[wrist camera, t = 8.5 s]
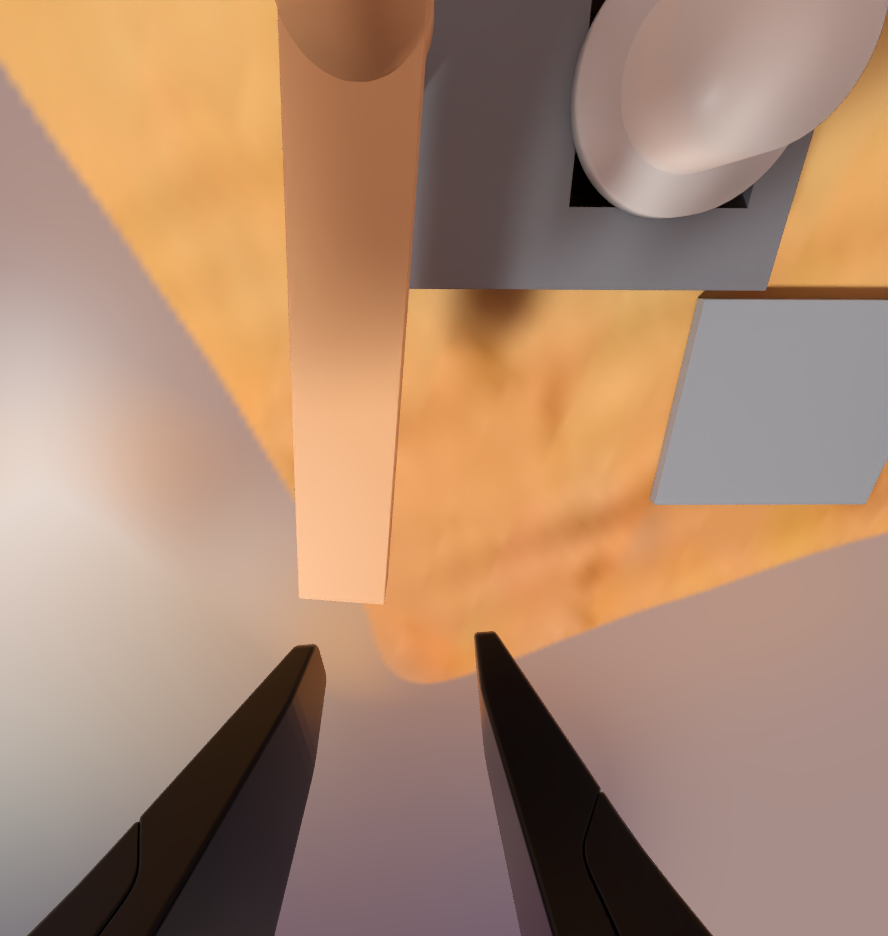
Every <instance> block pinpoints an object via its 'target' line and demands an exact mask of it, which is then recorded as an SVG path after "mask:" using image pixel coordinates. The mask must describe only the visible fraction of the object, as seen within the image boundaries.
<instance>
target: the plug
mask: <svg viewBox="0 0 888 936" xmlns="http://www.w3.org/2000/svg"><path fill="white" fill-rule="evenodd" d="M887 8H888V0H605V1H604V3H603V5H602V6H601V8H600V10H599V11H598V13H597V15H596V16H595V18H594V20H593V22H592V24H591V26H590V28H589V30H588V32H587V34H586V37H585V39H584V42H583V45H582V47H581V50H580V53H579V56H578V60H577V64H576V68H575V72H574V77H573V84H572V90H571V107H570V112H571V128H572V134H573V140H574V145H575V148H576V152H577V155H578V158H579V161H580V163H581V165H582V168H583V170H584V172H585V174H586V175H587V177H588V179H589V180H590V182H591V184H592V185H593V186H594V187H595V189H596V190H597V191H598V192H599V193H600V195H602V196H603V197H604V198H605V199H606V200H607V201H608V202H609V203H611V204H612V205H614V206H615V207H617V208H619V209H620V210H622V211H624V212H627V213H629V214H631V215H635V216H639V217H643V218H651V219H665V218H675V217H682V216H689V215H693V214H698V213H702V212H705V211H708V210H711V209H713V208H716V207H718V206H720V205H722V204H724V203H726V202H728V201H730V200H732V199H733V198H735V197H736V196H738V195H739V194H741V193H742V192H744V191H745V190H746V189H748V188H749V187H750V186H751V185H753V184H754V183H755V182H756V181H757V180H758V179H759V178H760V177H761V176H762V175H763V174H764V173H765V172H767V171H768V170H769V169H770V167H771V166H772V165H773V164H774V163H775V161H776V160H777V159H778V158H779V157H780V155H781V154H782V153H783V151H784V150H785V149H786V147H787V146H788V144H790V143H792V142H794V141H796V140H798V139H800V138H801V137H803V136H805V135H806V134H808V133H809V132H811V131H812V130H813V129H815V128H816V127H817V126H818V125H819V124H821V123H822V122H823V121H824V120H825V119H826V118H827V117H828V116H829V115H830V114H831V113H832V112H833V111H834V110H835V109H836V108H837V107H838V106H839V105H840V104H841V103H842V101H843V100H844V99H845V98H846V97H847V95H848V94H849V93H850V91H851V90H852V88H853V87H854V85H855V84H856V83H857V81H858V80H859V78H860V76H861V74H862V73H863V71H864V69H865V68H866V66H867V64H868V62H869V60H870V58H871V56H872V53H873V51H874V49H875V47H876V44H877V42H878V39H879V36H880V34H881V31H882V27H883V24H884V20H885V17H886V13H887Z"/></svg>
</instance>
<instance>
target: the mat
mask: <svg viewBox="0 0 888 936" xmlns="http://www.w3.org/2000/svg"><path fill="white" fill-rule="evenodd" d="M887 458H888V299H750V298H698V299H697V304H696V308H695V312H694V316H693V320H692V325H691V329H690V333H689V337H688V341H687V346H686V350H685V354H684V358H683V362H682V367H681V371H680V375H679V379H678V383H677V387H676V392H675V396H674V400H673V404H672V408H671V413H670V417H669V421H668V425H667V429H666V434H665V438H664V442H663V446H662V450H661V455H660V459H659V463H658V467H657V471H656V476H655V480H654V484H653V488H652V492H651V497H650V500H651V501H652V502H653V504H654V505H738V504H866V502H867V500H868V498H869V495H870V493H871V491H872V489H873V487H874V485H875V483H876V481H877V479H878V477H879V475H880V473H881V471H882V469H883V466H884V464H885V462H886V460H887Z"/></svg>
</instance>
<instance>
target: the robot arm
mask: <svg viewBox="0 0 888 936" xmlns="http://www.w3.org/2000/svg"><path fill="white" fill-rule="evenodd" d="M474 640H475V655H476V668H477V679H478V691H479V702H480V712H481V723H482V734H483V744H484V753H485V759H486V765H487V770H488V775H489V780H490V785H491V790H492V795H493V800H494V804H495V810H496V814H497V820H498V825H499V829H500V835H501V839H502V844H503V849H504V854H505V859H506V864H507V869H508V874H509V879H510V884H511V889H512V893H513V899H514V904H515V909H516V913H517V918H518V923H519V928H520V933H521V936H713V935H712V934H711V933H710V932H709V931H708V929H707V928H706V927H705V926H704V925H703V923H702V922H701V921H700V920H699V918H698V917H697V916H696V915H695V914H694V912H693V911H692V910H691V909H690V907H689V906H688V905H687V904H686V903H685V901H684V900H683V899H682V898H681V896H680V895H679V894H678V893H677V891H676V890H675V889H674V888H673V886H672V885H671V884H670V883H669V882H668V880H667V879H666V878H665V876H664V875H663V874H662V872H661V871H660V870H659V869H658V867H657V866H656V865H655V863H654V862H653V861H652V860H651V858H650V857H649V856H648V854H647V853H646V852H645V851H644V849H643V848H642V846H641V845H640V844H639V842H638V841H637V840H636V838H635V837H634V835H633V834H632V833H631V831H630V829H629V828H628V827H627V825H626V824H625V823H624V821H623V820H622V818H621V817H620V815H619V814H618V812H617V811H616V810H615V808H614V807H613V805H612V804H611V802H610V801H609V799H608V798H607V796H606V795H605V794H604V793H603V792H600V789H601V788H600V786H599V785H598V783H597V782H596V780H595V779H594V777H593V776H592V774H591V773H590V771H589V770H588V768H587V767H586V765H585V764H584V763H583V761H582V759H581V758H580V757H579V755H578V754H577V752H576V751H575V749H574V748H573V746H572V745H571V743H570V742H569V740H568V739H567V737H566V736H565V734H564V733H563V731H562V730H561V728H560V727H559V725H558V724H557V722H556V721H555V720H554V718H553V717H552V715H551V714H550V712H549V711H548V709H547V708H546V706H545V705H544V703H543V702H542V700H541V699H540V697H539V696H538V694H537V693H536V691H535V690H534V688H533V687H532V685H531V684H530V682H529V681H528V679H527V678H526V677H525V675H524V673H523V672H522V671H521V669H520V668H519V666H518V665H517V663H516V662H515V660H514V659H513V657H512V656H511V654H510V653H509V651H508V650H507V648H506V647H505V645H504V644H503V642H502V641H501V639H500V638H499V636H498V635H497V634H496V633H495V632H493V631H489V632H477V633H476V634H475V635H474ZM325 687H326V673H325V669H324V665H323V662H322V658H321V655H320V651H319V648H318V647H317V646H316V645H314V644H309V645H298V646H296V647H294V648H293V649H292V650H291V651H290V652H289V653H288V654H287V655H286V657H285V658H284V659H283V660H282V661H281V662H280V663H279V665H277V667H276V668H275V669H274V670H273V671H272V672H271V673H270V674H269V675H268V677H267V678H266V679H265V680H264V681H263V682H262V683H261V684H260V685H259V686H258V688H257V689H256V690H255V691H254V692H253V693H252V694H251V695H250V696H249V697H248V699H247V700H246V701H245V702H244V703H243V704H242V705H241V707H239V709H238V710H237V711H236V712H235V713H234V714H233V715H232V716H231V717H230V718H229V720H228V721H227V722H226V723H225V724H224V725H223V726H222V727H221V728H220V730H219V731H218V732H217V733H216V734H215V735H214V736H213V737H212V738H211V739H210V741H209V742H208V743H207V744H206V745H205V746H204V747H203V748H202V749H201V751H200V752H199V753H198V754H197V755H196V756H195V757H194V758H193V760H192V761H191V762H190V763H189V764H188V765H187V766H186V767H185V768H184V769H183V770H182V772H181V773H180V774H179V775H178V776H177V777H176V778H175V779H174V781H172V783H171V784H170V785H169V786H168V787H167V788H166V789H165V790H164V791H163V793H162V794H161V795H160V796H159V797H158V798H157V799H156V800H155V801H154V802H153V804H152V805H151V806H150V807H149V808H148V809H147V810H146V811H145V812H144V814H143V815H142V816H141V817H140V821H139V822H136V823H134V824H133V825H132V827H131V828H130V829H129V830H128V831H127V832H126V833H125V834H124V836H123V837H122V838H121V839H120V840H119V841H118V842H117V843H116V844H115V845H114V846H113V847H112V849H111V850H110V851H109V852H108V853H107V854H106V855H105V856H104V857H103V858H102V859H101V860H100V861H99V862H98V864H97V865H96V866H95V867H94V868H93V869H92V870H91V871H90V872H89V873H88V874H87V875H86V876H85V878H84V879H83V880H82V881H81V882H80V883H79V884H78V885H77V886H76V887H75V888H74V889H73V890H72V891H71V892H70V893H69V894H68V895H67V896H66V897H65V898H64V899H63V900H62V901H61V902H60V903H59V904H58V905H57V906H56V907H55V908H54V909H53V910H52V911H51V912H50V913H49V914H48V915H47V916H46V917H45V918H44V919H43V920H42V921H41V922H40V923H39V924H38V925H37V926H36V927H35V928H34V929H33V930H32V931H31V932H30V933H29V934H28V935H27V936H274V935H275V931H276V927H277V922H278V918H279V914H280V910H281V906H282V902H283V898H284V894H285V889H286V885H287V881H288V877H289V873H290V868H291V864H292V860H293V855H294V852H295V847H296V843H297V839H298V835H299V831H300V826H301V823H302V818H303V814H304V810H305V806H306V801H307V798H308V793H309V789H310V784H311V781H312V776H313V771H314V767H315V760H316V753H317V747H318V738H319V732H320V724H321V717H322V709H323V702H324V694H325Z"/></svg>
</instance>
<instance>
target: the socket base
mask: <svg viewBox="0 0 888 936" xmlns="http://www.w3.org/2000/svg"><path fill="white" fill-rule="evenodd" d="M604 1H605V0H434V27H433V35H432V40H431V45H430V49H429V52H428V55H427V57H426V64H425V78H424V91H423V105H422V119H421V132H420V146H419V159H418V173H417V187H416V200H415V214H414V228H413V241H412V255H411V268H410V282H409V289H552V290H736V291H766V288H767V285H768V281H769V278H770V275H771V271H772V268H773V265H774V261H775V258H776V255H777V251H778V248H779V245H780V241H781V238H782V234H783V231H784V228H785V224H786V221H787V218H788V214H789V211H790V208H791V204H792V201H793V198H794V194H795V191H796V188H797V184H798V181H799V178H800V174H801V171H802V168H803V164H804V161H805V157H806V154H807V151H808V147H809V144H810V141H811V137H812V134H813V131H814V129H813V130H812V131H811V132H809V133H808V134H806V135H805V136H803V137H801V138H800V139H798V140H796V141H794V142H792V143H790V144H788V146H787V147H786V149H785V150H784V151H783V153H782V154H781V155H780V157H779V158H778V159H777V160H776V161H775V163H774V164H773V165H772V166H771V167H770V169H769V170H768V171H767V172H765V173H764V174H763V175H762V176H761V177H760V178H759V179H758V180H757V181H756V182H755V183H754V184H753V185H751V186H750V187H749V188H748V189H746V190H745V191H744V192H742V193H741V194H739V195H738V196H736V197H735V198H733V199H732V200H730V201H728V202H726V203H724V204H722V205H720V206H718V207H716V208H713V209H711V210H708V211H705V212H702V213H698V214H693V215H689V216H682V217H675V218H665V219H651V218H643V217H639V216H635V215H631V214H629V213H627V212H624V211H622V210H620V209H619V208H617V207H569V202H570V193H571V184H572V175H573V166H574V157H575V145H574V140H573V134H572V128H571V112H570V107H571V90H572V84H573V77H574V72H575V68H576V64H577V60H578V56H579V53H580V50H581V47H582V45H583V42H584V39H585V37H586V34H587V32H588V30H589V22H590V13H598V11H599V10H600V8H601V6H602V5H603V3H604Z"/></svg>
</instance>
